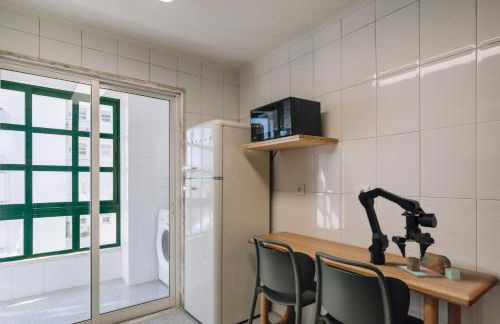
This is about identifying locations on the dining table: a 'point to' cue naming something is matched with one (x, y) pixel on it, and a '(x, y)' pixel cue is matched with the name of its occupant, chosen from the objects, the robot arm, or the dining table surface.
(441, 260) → the tin
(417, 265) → the block
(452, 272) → the sage block
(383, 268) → the dining table surface
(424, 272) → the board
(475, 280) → the dining table surface
